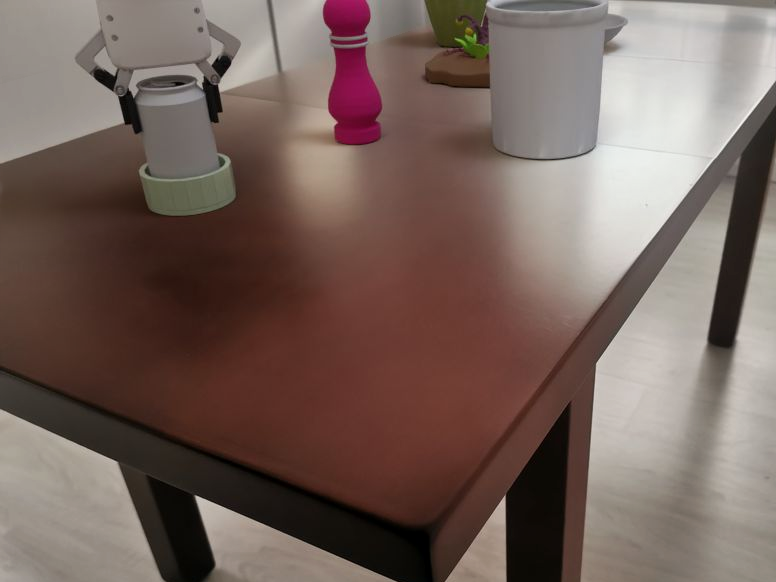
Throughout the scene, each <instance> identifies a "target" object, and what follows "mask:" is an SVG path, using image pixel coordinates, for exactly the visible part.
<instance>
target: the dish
mask: <svg viewBox="0 0 776 582" xmlns="http://www.w3.org/2000/svg"><path fill="white" fill-rule="evenodd" d="M628 23H629V19H628V18H627V17H625V16H622V15H619V14H614V13H607V15H606V17H605V37H604V44H606V43H608V42H610V41H611V40H613V39H614V38H615V37H616V36H618V34H620V32H621V30H623V28H624V27H625V26H627V25H628Z"/></svg>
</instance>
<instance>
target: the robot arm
mask: <svg viewBox="0 0 776 582" xmlns="http://www.w3.org/2000/svg"><path fill="white" fill-rule="evenodd" d="M95 4H96V9H97V14H98V19H99V25H100V28H99V29H98V30H97V31H96V32H95V33H94V34H93V35H92V37H90V38H89V39H88V40H87V42H85V43H84V44H83V46H81V48H80V49H79V50H78V51H77V52H76V53H75V54H74V61H75V63H76V64H77V65H78V66H79V67H80V68H82V69H83V70H84V71H85V72H86V73H88V75H90V76H91V77H92V78H94V79H95V81H97V83H99V84H101V85H102V86H103V87H105V88H106V89H108V90H110V91H111V92H113V93H114V94H115V95H116V96H117V99H118V102H119V107H120V110H121V115H122V118H123V119H122V120H123V123H124V126H130V125H131V128H132V131H133V133H134V135H139V134H140V135H141V128H140V123H139V119H138V115H137V110H136V106H135V102H134V95H133V92H132V90H130V88H129V86H130V83H131V81H132V77H133V74H134V71H140V70H147V69H149V70H150V69H158V68H166V67H167V68H169V67H177V66H184V65H185V66H186V65H192V64H194V65H195V66H196V67H197V69H198V70H199V71H200V73H202V74H203V76H202V78H203V80H202V82H201V88H202V89H203V90H204V91H205V92H206V96H207V101H208V107H209V112H210V117H211V122H212V123H213V124H219V123H220V119H219V118H220V117H219V114H220V113H223V112H224V110H223V104H222V99H221V92H220V88H219V85H220V83H221V82H222V78H223V77H224V75H225V74H226V73H227V71H229V69H230V67H231V66H232V62H233V60H234V59H235V57H236V56H237V53H238V51H239V50H240V48H241V45H242V43H241V40H239V38H238V37H236V36H234V35H233V34H231V33H230V32H228V31H226V30H225V29H223V28H222V27H220V26H219V25H217V24H215V23H214V22H212V21H210V20H209V19H207V18H206V13H205V9H204V5H203V2H202V0H95ZM211 38H213V39H214V40H216V41H217V42H220V43H221V44H222V49H221V51H220V53H219V54H218V56H217V57H216V58H215V60H214V61H213V62H212V64H210V63H209V61H208V59H209V58H210V57H211V55H212V43H211ZM104 48H105V50H106V53H107V56H108V59H110V61H111V63H112V65H113V66H114V67H115V69H116V70H115V72H114V74H112V73H111V72H109V71H108V70H106V69H105V68H104V67H102V66H101V65H100V64H99V63H98V62H96V61H95V57H96V56H97V55H99V53H100V52H101V51H103V49H104Z"/></svg>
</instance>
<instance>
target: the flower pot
mask: <svg viewBox="0 0 776 582" xmlns="http://www.w3.org/2000/svg"><path fill="white" fill-rule="evenodd" d="M423 1H424V4H425V8H426V11H427V14H428V19H429V22H430V24H431V27H432V31H433V34H434V36H435V38H436V40H437V43H438V45H440V46H442V47H446V48H447V47H448V48H463V47H462V45H461V44H460V43H459V42H457V41H456V40H455V38H457V39H461V40H463V41H465V42H466V43H467V44H468V42H467V39H466V38H465V35H467V34H466V32H465V31H466V28H467V27H468V26H470V25H472V22H471V20H469V19H467V18H465V17H463V24H462V25H461V26H458V25H456V19H457V18H458V17H459V16H461V15H463V14H468V15H470V16H471V17H473V18H474V19H475V20H477V22H478V24H479V25H480V26H481V27H482V23H483V19H484V15H485V12H486V3H487V2H488V0H423ZM475 33H476V32H475V27H474V31H473V34H472V35H470V37H472V38H473V36H474V34H475ZM468 45H469V44H468Z"/></svg>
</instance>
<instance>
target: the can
mask: <svg viewBox="0 0 776 582" xmlns="http://www.w3.org/2000/svg"><path fill="white" fill-rule="evenodd" d="M198 81H199V80H198V78H197V77H196V76H192V75H188V74H165V75H157V76H152V77H148V78H145V79H141V80H139V81H138V82H137V83H136V84H135V88H136V89H137V92H136V94H135V95H134V96H133V98H134V102H135V106H136V110H137V115H138V119H139V123H140V128H141V132H140V137H141V141H142V144H143V149H144V154H145V158H146V163H147V162H148V166H149V171H150V175H151V177H154V178H159V179H185V178H191V177H197V176H201V175H205V174H209V173H211V172H214V171H216V170H218V169H220V164H219V159H218V154H217V153H218V148H217V143H216V139H215V133H214V127H213V122H211V117H210V112H209V107H208V101H207V96H206V92H205V91H204V90H203V87H202V86H199V85H198Z"/></svg>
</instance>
